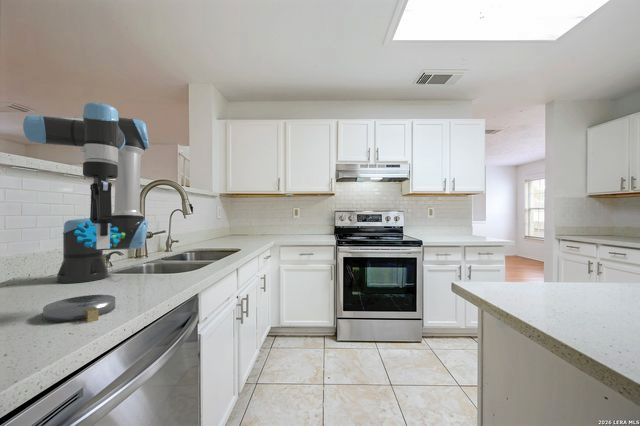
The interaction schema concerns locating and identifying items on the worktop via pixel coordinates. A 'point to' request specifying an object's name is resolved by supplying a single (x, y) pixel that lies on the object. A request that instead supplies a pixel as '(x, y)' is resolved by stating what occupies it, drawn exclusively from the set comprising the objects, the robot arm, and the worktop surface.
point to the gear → (91, 235)
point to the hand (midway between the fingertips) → (100, 247)
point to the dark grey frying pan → (79, 308)
